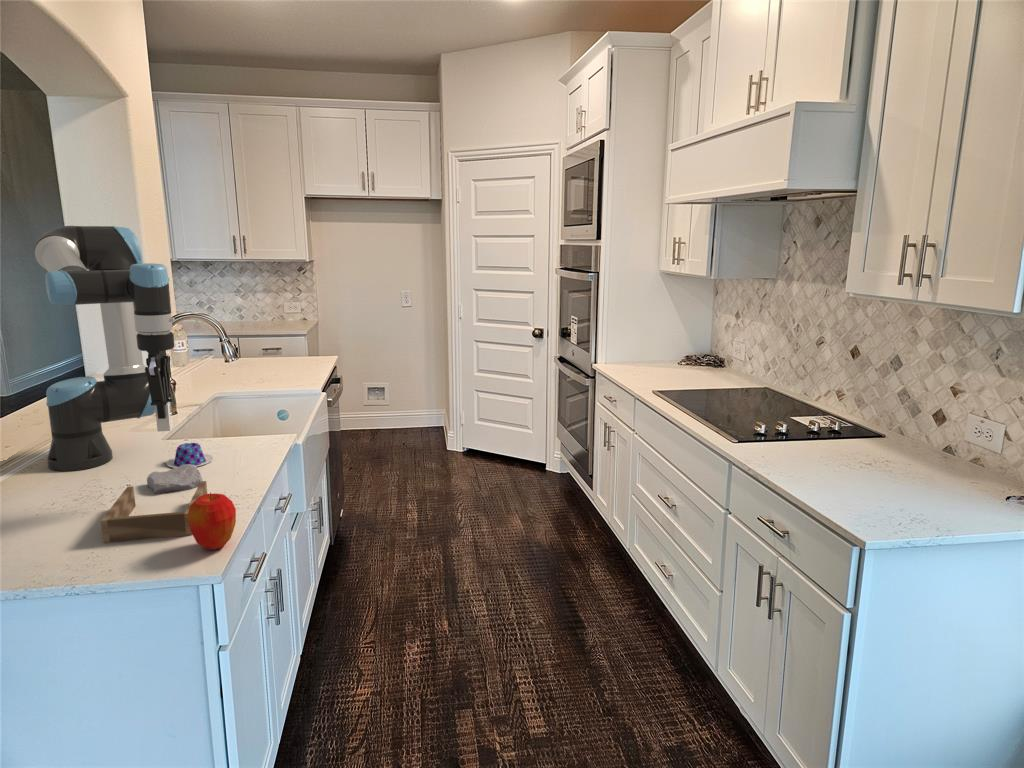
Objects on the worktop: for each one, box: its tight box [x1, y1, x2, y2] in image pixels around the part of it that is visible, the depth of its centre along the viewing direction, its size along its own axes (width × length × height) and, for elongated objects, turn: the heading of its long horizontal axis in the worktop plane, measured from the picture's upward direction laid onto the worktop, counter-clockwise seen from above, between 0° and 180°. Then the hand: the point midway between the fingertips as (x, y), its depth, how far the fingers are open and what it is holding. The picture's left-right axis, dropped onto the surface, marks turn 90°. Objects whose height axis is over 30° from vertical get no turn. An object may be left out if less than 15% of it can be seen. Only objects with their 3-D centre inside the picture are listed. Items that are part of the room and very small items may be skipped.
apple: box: [187, 492, 237, 550], centre depth 134 cm, size 9×9×12 cm
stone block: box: [146, 464, 204, 494], centre depth 167 cm, size 12×5×10 cm
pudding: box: [165, 442, 214, 469], centre depth 184 cm, size 12×12×5 cm
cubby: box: [100, 480, 208, 544], centre depth 147 cm, size 19×17×5 cm
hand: (164, 430), depth 155 cm, fingers closed
